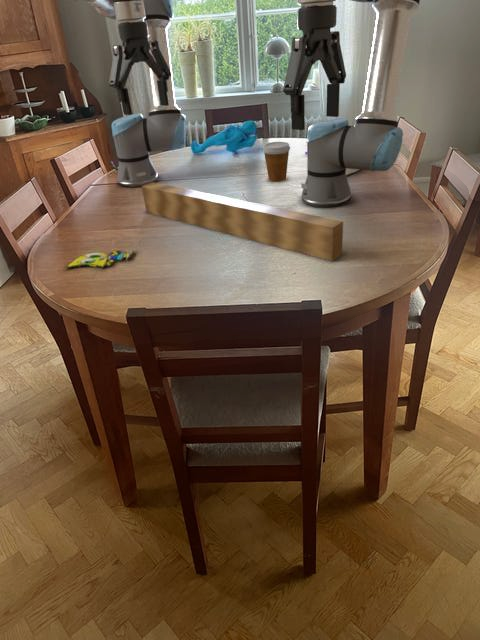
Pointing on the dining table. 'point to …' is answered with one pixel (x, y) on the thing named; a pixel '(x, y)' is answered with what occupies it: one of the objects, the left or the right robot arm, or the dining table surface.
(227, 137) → the toy
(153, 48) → the left robot arm
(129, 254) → the toy
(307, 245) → the post
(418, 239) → the dining table surface
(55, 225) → the dining table surface
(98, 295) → the dining table surface
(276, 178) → the disposable coffee cup
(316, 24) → the right robot arm
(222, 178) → the dining table surface
